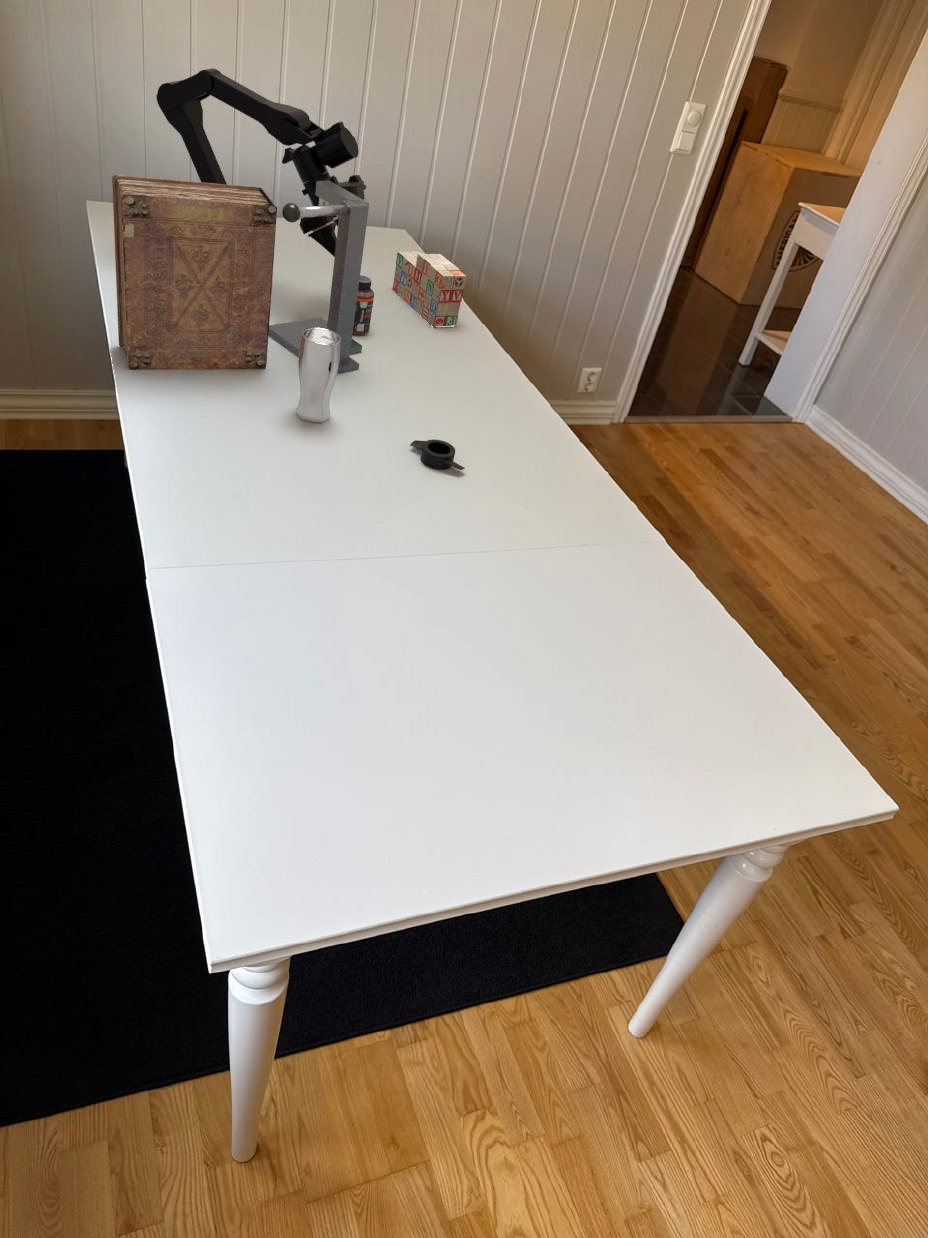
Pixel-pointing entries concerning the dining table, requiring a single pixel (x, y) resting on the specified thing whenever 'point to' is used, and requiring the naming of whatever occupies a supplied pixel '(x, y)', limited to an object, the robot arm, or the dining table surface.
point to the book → (193, 273)
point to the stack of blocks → (430, 286)
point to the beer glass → (317, 373)
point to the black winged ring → (436, 454)
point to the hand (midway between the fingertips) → (349, 254)
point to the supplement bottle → (363, 307)
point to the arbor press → (334, 271)
